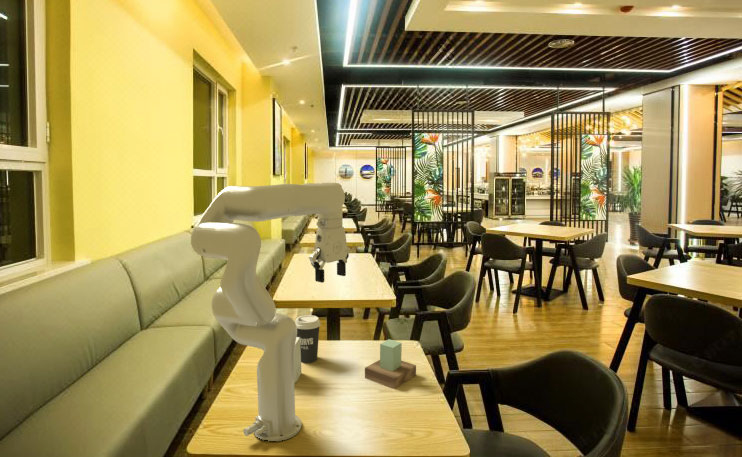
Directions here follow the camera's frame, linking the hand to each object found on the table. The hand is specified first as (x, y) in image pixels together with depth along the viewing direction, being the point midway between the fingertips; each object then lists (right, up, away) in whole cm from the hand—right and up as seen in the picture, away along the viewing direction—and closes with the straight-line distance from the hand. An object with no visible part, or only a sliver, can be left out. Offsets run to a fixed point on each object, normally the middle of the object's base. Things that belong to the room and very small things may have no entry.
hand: (330, 278), depth 147 cm
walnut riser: (+19, -34, +10) cm, 40 cm away
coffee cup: (-10, -31, +23) cm, 40 cm away
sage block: (+19, -30, +9) cm, 36 cm away
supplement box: (-15, -34, +9) cm, 38 cm away
